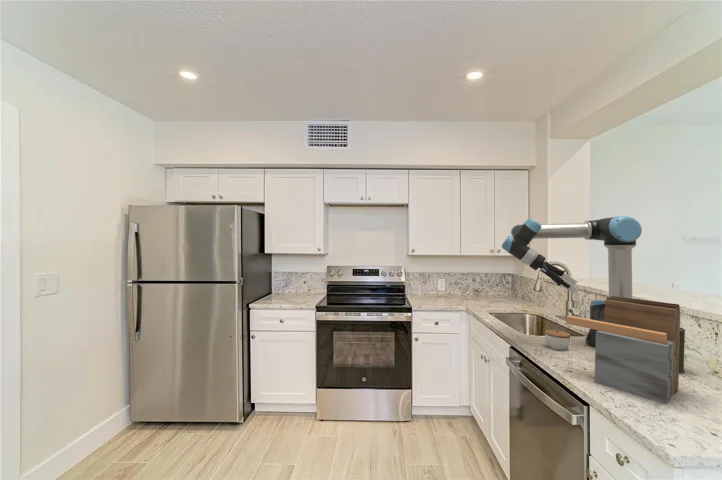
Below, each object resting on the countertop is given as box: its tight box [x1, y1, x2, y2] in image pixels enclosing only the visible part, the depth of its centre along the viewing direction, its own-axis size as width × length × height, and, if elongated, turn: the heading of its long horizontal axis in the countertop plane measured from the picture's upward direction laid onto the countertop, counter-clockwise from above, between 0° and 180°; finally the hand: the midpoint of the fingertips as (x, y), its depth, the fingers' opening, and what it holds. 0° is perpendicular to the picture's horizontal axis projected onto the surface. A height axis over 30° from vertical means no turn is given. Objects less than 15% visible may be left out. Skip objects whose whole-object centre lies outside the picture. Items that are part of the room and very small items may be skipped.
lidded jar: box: [544, 328, 571, 351], centre depth 159 cm, size 11×11×9 cm
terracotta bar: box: [565, 315, 667, 344], centre depth 122 cm, size 3×30×3 cm, turn 37°
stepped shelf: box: [594, 296, 681, 405], centre depth 119 cm, size 18×20×31 cm
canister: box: [679, 327, 686, 374], centre depth 136 cm, size 11×10×20 cm
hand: (576, 287), depth 148 cm, fingers open, 13 cm apart
